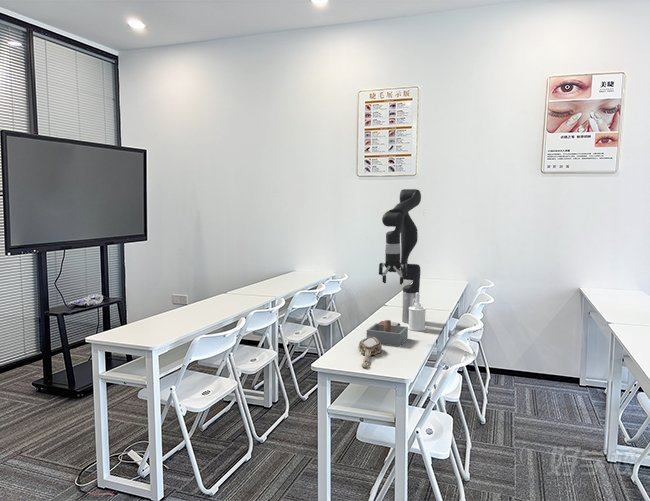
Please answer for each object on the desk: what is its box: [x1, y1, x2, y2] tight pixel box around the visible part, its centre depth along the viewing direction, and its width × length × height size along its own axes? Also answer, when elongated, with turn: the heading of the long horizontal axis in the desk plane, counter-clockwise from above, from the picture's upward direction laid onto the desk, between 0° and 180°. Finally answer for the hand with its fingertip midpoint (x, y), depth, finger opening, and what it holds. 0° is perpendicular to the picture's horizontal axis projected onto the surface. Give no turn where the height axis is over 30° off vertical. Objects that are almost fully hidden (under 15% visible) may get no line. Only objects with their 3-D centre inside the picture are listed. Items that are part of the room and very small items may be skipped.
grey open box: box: [366, 323, 409, 347], centre depth 241 cm, size 14×17×6 cm
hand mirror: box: [357, 336, 383, 369], centre depth 216 cm, size 11×6×30 cm
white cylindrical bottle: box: [407, 292, 427, 332], centre depth 261 cm, size 10×9×20 cm
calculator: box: [377, 320, 401, 326], centre depth 258 cm, size 11×4×15 cm
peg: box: [383, 319, 392, 332], centre depth 241 cm, size 3×3×10 cm
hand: (392, 283), depth 246 cm, fingers open, 8 cm apart
